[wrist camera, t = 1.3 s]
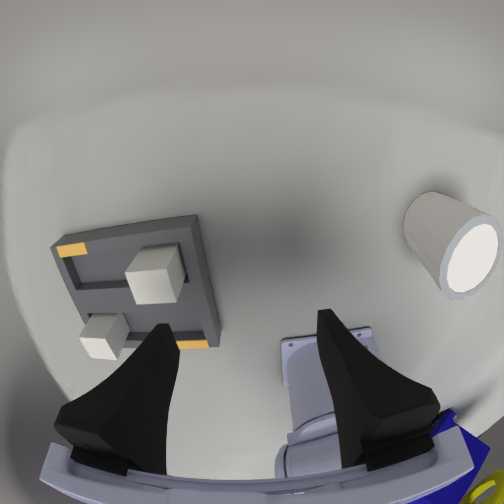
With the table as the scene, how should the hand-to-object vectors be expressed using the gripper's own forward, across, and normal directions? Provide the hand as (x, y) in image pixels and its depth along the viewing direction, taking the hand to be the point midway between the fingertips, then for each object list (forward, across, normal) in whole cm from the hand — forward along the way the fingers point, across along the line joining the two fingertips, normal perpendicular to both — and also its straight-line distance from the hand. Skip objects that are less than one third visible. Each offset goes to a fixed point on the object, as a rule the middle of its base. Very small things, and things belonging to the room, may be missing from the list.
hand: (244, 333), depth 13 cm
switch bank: (+10, +10, +3) cm, 14 cm away
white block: (+9, +14, +6) cm, 17 cm away
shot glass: (+10, -16, 0) cm, 19 cm away
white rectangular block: (+9, +6, 0) cm, 11 cm away
